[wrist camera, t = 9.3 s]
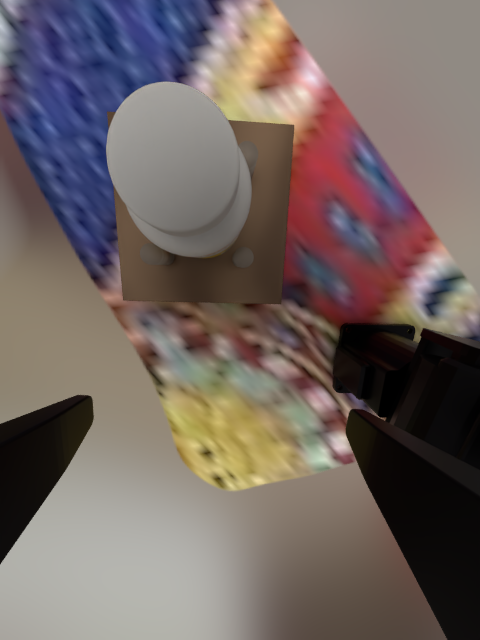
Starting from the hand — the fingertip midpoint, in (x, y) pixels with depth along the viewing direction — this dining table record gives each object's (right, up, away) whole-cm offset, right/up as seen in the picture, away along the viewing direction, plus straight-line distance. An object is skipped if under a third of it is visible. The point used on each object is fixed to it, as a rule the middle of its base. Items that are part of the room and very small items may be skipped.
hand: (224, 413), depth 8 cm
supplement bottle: (-2, +10, +8) cm, 14 cm away
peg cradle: (-2, +11, +10) cm, 15 cm away
